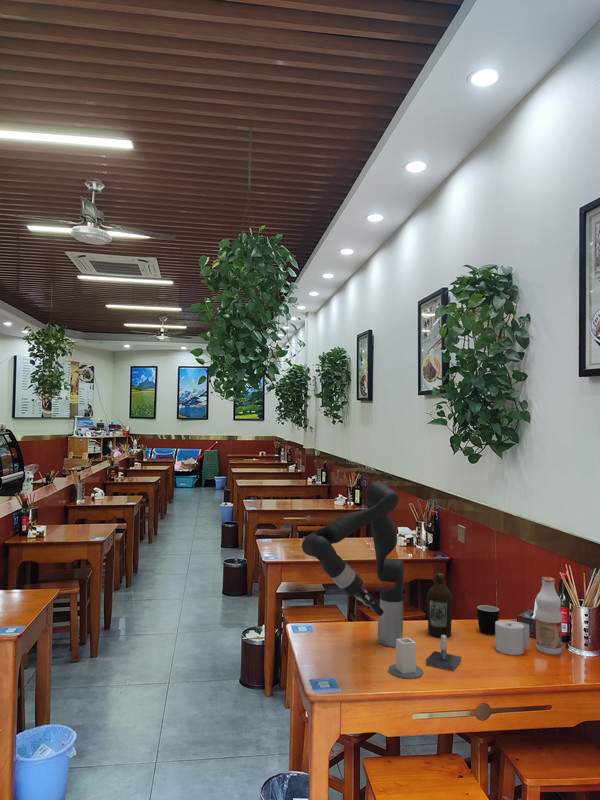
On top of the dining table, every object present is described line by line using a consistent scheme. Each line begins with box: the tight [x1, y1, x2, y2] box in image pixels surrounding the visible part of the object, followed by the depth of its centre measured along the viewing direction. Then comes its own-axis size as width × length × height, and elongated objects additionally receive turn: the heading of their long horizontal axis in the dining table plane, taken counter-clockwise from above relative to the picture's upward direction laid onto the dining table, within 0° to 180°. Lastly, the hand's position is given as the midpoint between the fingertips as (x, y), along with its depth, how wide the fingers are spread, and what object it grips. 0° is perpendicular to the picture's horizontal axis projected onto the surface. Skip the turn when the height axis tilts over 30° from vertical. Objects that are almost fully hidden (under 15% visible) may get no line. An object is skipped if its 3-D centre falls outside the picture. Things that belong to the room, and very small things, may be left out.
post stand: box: [425, 635, 462, 672], centre depth 207 cm, size 10×10×10 cm
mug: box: [476, 604, 500, 636], centre depth 245 cm, size 12×9×10 cm
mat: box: [388, 663, 424, 680], centre depth 198 cm, size 12×12×1 cm
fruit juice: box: [535, 576, 563, 655], centre depth 224 cm, size 9×9×28 cm
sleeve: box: [395, 637, 417, 674], centre depth 199 cm, size 5×5×10 cm
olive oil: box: [426, 572, 454, 639], centre depth 240 cm, size 11×11×25 cm
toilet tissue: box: [494, 619, 531, 656], centre depth 223 cm, size 11×12×10 cm
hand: (376, 610), depth 196 cm, fingers open, 8 cm apart
